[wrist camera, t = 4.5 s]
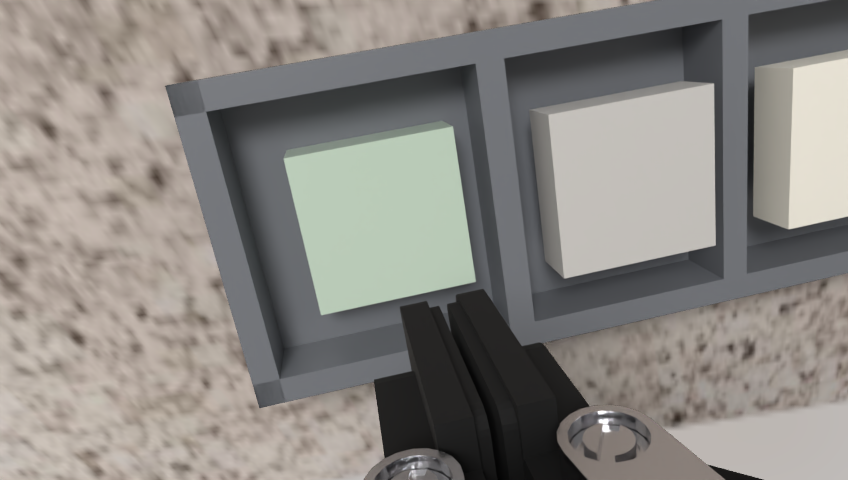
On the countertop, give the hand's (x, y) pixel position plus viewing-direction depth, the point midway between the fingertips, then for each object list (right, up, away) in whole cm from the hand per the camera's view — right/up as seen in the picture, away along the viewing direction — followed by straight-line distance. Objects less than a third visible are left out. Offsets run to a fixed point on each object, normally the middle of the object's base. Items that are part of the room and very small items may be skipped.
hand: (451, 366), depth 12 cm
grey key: (+7, +5, +12) cm, 14 cm away
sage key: (-2, +4, +12) cm, 13 cm away
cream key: (+15, +7, +12) cm, 21 cm away
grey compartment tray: (+6, +6, +15) cm, 17 cm away
